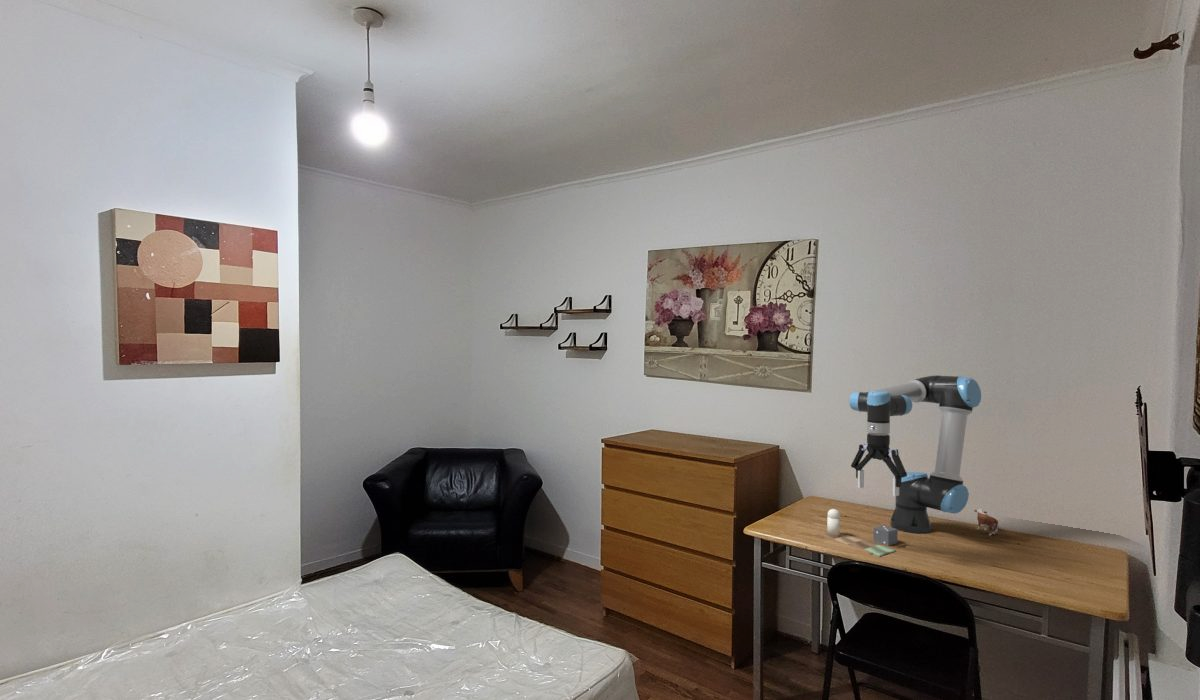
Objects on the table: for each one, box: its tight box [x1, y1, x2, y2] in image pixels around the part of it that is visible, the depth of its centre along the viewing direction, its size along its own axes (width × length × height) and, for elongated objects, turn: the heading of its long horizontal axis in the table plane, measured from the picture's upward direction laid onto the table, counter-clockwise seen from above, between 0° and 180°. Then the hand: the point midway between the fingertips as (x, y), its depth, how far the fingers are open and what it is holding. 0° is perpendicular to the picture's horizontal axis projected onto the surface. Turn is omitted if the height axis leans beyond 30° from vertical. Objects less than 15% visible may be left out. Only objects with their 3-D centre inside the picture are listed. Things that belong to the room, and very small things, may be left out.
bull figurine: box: [974, 508, 999, 536], centre depth 244 cm, size 4×13×8 cm, turn 174°
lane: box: [818, 532, 896, 557], centre depth 228 cm, size 10×26×1 cm, turn 33°
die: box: [873, 524, 898, 547], centre depth 228 cm, size 6×6×6 cm
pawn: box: [826, 508, 841, 537], centre depth 236 cm, size 5×5×10 cm
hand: (877, 491), depth 217 cm, fingers open, 13 cm apart
